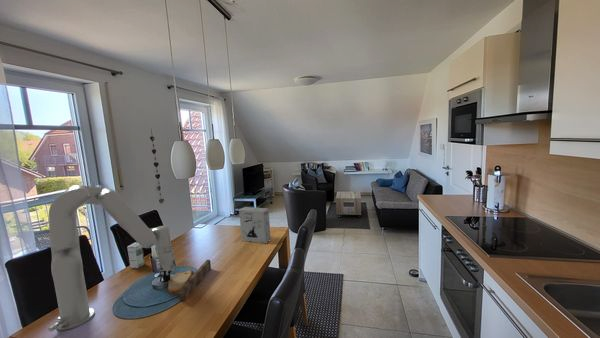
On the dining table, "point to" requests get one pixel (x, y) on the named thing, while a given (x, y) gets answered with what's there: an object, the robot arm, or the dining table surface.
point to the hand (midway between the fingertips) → (167, 280)
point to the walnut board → (194, 280)
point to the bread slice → (178, 281)
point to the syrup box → (135, 255)
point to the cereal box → (255, 224)
